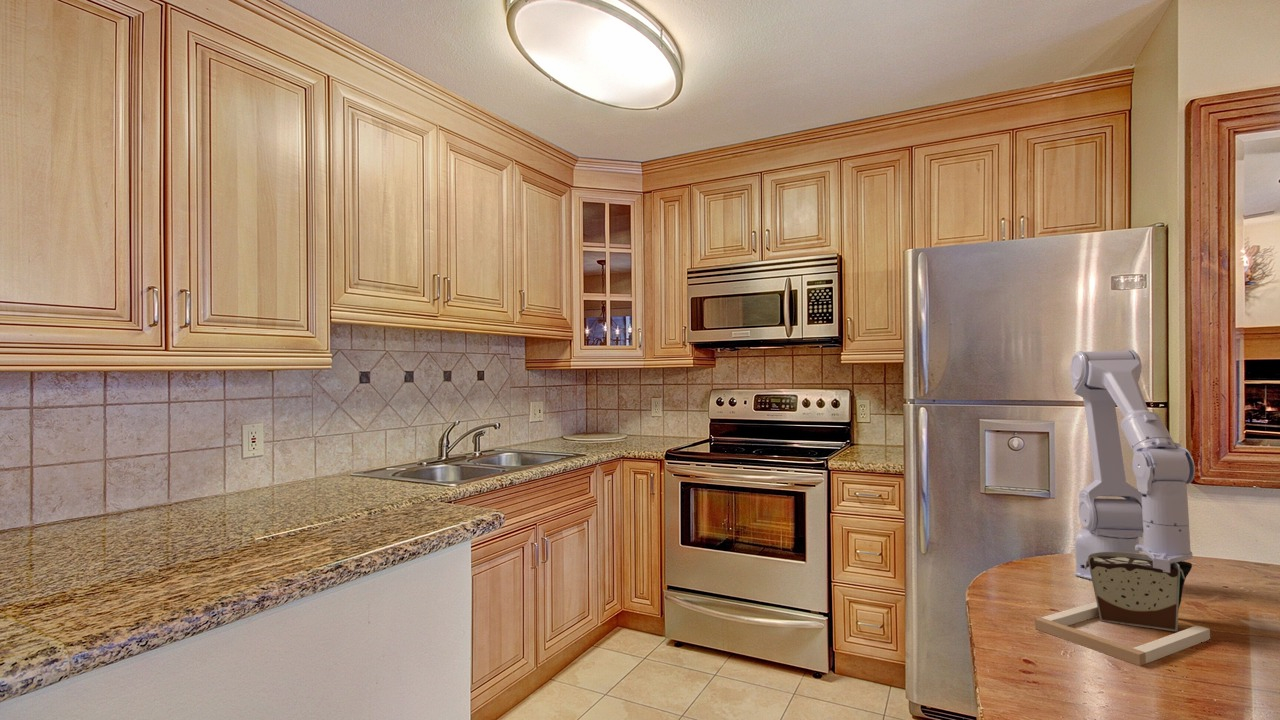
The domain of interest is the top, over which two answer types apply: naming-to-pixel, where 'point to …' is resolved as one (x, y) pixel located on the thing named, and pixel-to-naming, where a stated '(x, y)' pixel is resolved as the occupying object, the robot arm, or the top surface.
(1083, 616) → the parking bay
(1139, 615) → the food container
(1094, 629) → the top surface
